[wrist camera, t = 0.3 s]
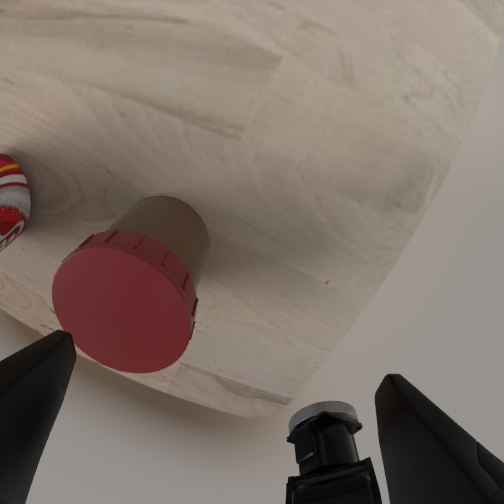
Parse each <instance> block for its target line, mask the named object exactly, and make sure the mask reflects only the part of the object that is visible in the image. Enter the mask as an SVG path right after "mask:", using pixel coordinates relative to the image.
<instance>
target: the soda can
mask: <svg viewBox="0 0 504 504" xmlns="http://www.w3.org/2000/svg"><path fill="white" fill-rule="evenodd" d="M30 209H31V201H30V192H29V187H28V184H27V181H26V178H25V176H24V174H23V172H22V170H21V168H20V167H19V166H18V164H17V163H16V162H15V161H14V160H13V159H12V158H10V157H9V156H7V155H4V154H0V251H1V250H3V249H4V248H5V247H7V246H8V245H9V244H10V243H11V242H12V241H13V240H15V239H16V238H17V237H18V236H19V235H20V234H21V233H22V232H23V231H24V229H25V227H26V225H27V223H28V220H29V216H30Z"/></svg>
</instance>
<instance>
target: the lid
mask: <svg viewBox="0 0 504 504" xmlns="http://www.w3.org/2000/svg"><path fill="white" fill-rule="evenodd" d="M190 276H191V274H190V273H188V271H187V270H186V268H185V267H184V265H183V264H182V262H181V261H180V260H179V259H178V258H177V257H176V256H175V254H173V253H172V250H171V249H170V250H169V249H168V248H167V247H165V246H164V245H162V244H161V243H159V242H158V241H156V240H154V239H152V238H150V237H148V236H146V234H141V233H137V232H133V231H126V230H118V229H115V230H110V231H105V232H101V233H98V234H96V235H93V234H92V235H91V236H90V237H88V238H87V239H86V240H85V241H84V242H83V243H82V244H80V245H79V247H78V248H77V249H75V250H74V251H73V252H72V253H71V254H70V255H69V256H67V257H66V258H65V259H64V260H63V261H62V263H61V265H60V266H59V268H58V270H57V271H56V274H55V277H54V280H53V285H52V301H53V306H54V310H55V313H56V316H57V318H58V320H59V322H60V324H61V326H62V328H63V329H64V331H66V332H69V333H71V335H72V337H73V342H74V344H75V345H76V346H78V347H79V348H80V349H81V350H82V351H83V352H84V353H86V354H87V355H88V356H90V357H91V358H93V359H94V360H96V361H98V362H100V363H101V364H103V365H106V366H108V367H110V368H113V369H116V370H120V371H124V372H130V373H151V372H155V371H159V370H162V369H164V368H166V367H168V366H170V365H172V364H173V363H174V362H176V361H177V360H178V359H179V358H180V357H181V356H182V354H183V353H184V351H185V350H186V348H187V345H188V343H189V340H191V338H192V334H193V329H194V325H195V321H194V319H195V315H196V311H197V304H198V298H197V297H196V291H195V287H194V284H193V282H192V279H191V277H190Z"/></svg>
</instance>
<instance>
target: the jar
mask: <svg viewBox="0 0 504 504" xmlns="http://www.w3.org/2000/svg"><path fill="white" fill-rule="evenodd" d="M115 229H118V230H126V231H133V232H137V233H141V234H146V236H148V237H150V238H152V239H154V240H156V241H158V242H159V243H161V244H162V245H164V246H165V247H167V248H168V249H169V250H170V249H171V250H172V253H173V254H175V256H176V257H177V258H178V259H179V260H180V261H181V262H182V264H183V265H184V267H185V268H186V270H187V271H188V273H190V274H191V276H190V277H191V279H192V282H193V284H194V287H195V291H197V288H198V284H199V281H200V277H201V274H202V271H203V267H204V264H205V261H206V258H207V254H208V249H209V238H208V232H207V229H206V227H205V224H204V222H203V221H202V219H201V218H200V216H199V215H198V214H197V213H196V211H195V210H193V209H192V208H191V207H190V206H189V205H187V204H186V203H184V202H182V201H180V200H178V199H175V198H171V197H166V196H155V197H150V198H147V199H144V200H142V201H140V202H138V203H137V204H135V205H134V206H133V207H132V208H131V209H129V210H128V211H127V212H126V213H125V214H124V215H122V216H121V217H120V218H119V219H118V220H117V221H116V222H114V223H113V224H112V225H111V226H110V227H109V228H108V229H107V230H105V231H110V230H115ZM105 231H104V232H105Z"/></svg>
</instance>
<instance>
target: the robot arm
mask: <svg viewBox="0 0 504 504" xmlns="http://www.w3.org/2000/svg"><path fill="white" fill-rule="evenodd" d="M75 362H76V350H75V346H74V342H73V337H72V335H71V333H69V332H66V331H63V330H56V331H54V332H52V333H51V334H49V335H47V336H45V337H43V338H42V339H40V340H38V341H36V342H34V343H32V344H31V345H29V346H27V347H25V348H23V349H21V350H20V351H18V352H16V353H14V354H12V355H11V356H9V357H7V358H5V359H3V360H2V361H0V504H25V503H26V499H27V496H28V493H29V490H30V487H31V484H32V481H33V478H34V475H35V472H36V469H37V466H38V464H39V461H40V457H41V455H42V453H43V450H44V447H45V445H46V442H47V440H48V437H49V435H50V432H51V430H52V427H53V425H54V422H55V420H56V417H57V415H58V413H59V410H60V408H61V405H62V402H63V400H64V396H65V393H66V389H67V387H68V383H69V380H70V377H71V374H72V371H73V368H74V365H75ZM375 406H376V416H377V426H378V436H379V444H380V449H381V455H382V460H383V465H384V470H385V476H386V481H387V487H388V493H389V499H390V504H504V463H503V462H502V461H501V460H500V459H498V458H497V457H496V456H494V455H493V454H492V453H491V452H489V451H488V450H487V449H486V448H485V447H484V446H482V445H481V444H480V443H479V442H476V440H475V439H474V438H473V437H472V436H471V435H470V434H469V433H467V432H466V431H465V430H464V429H463V428H462V427H461V426H459V425H458V424H457V423H456V422H455V421H454V420H452V419H451V418H450V417H449V416H448V415H447V414H446V413H444V412H443V411H442V410H441V409H440V408H439V407H437V406H436V405H435V404H434V403H433V402H432V401H431V400H429V399H428V398H427V397H426V396H425V395H423V394H422V393H421V392H420V391H419V390H418V389H417V388H416V387H414V386H413V385H412V384H411V383H410V382H408V381H407V380H406V379H405V378H404V377H403V376H401V375H400V374H387V375H386V376H385V377H384V379H383V381H382V382H381V384H380V386H379V388H378V389H377V391H376V394H375ZM361 429H362V424H361V423H359V422H356V421H353V420H350V419H347V418H344V417H341V416H338V415H336V414H333V413H330V412H327V411H322V412H320V413H319V414H318V415H316V416H315V417H314V418H312V419H311V420H310V421H309V422H307V423H306V424H304V425H303V426H302V427H300V428H299V429H298V430H296V431H295V432H294V433H292V434H291V435H289V436H288V437H287V442H289V443H292V444H295V454H296V462H297V464H299V472H300V476H295V477H294V476H291V477H288V483H287V484H286V487H287V489H286V503H285V504H382V500H381V495H380V490H379V486H378V483H377V479H376V475H375V472H374V468H373V465H372V462H371V458H370V457H368V458H366V459H364V460H361V461H360V460H359V456H358V452H357V448H356V443H355V439H354V435H353V434H355V433H356V432H358V431H359V430H361Z"/></svg>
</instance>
